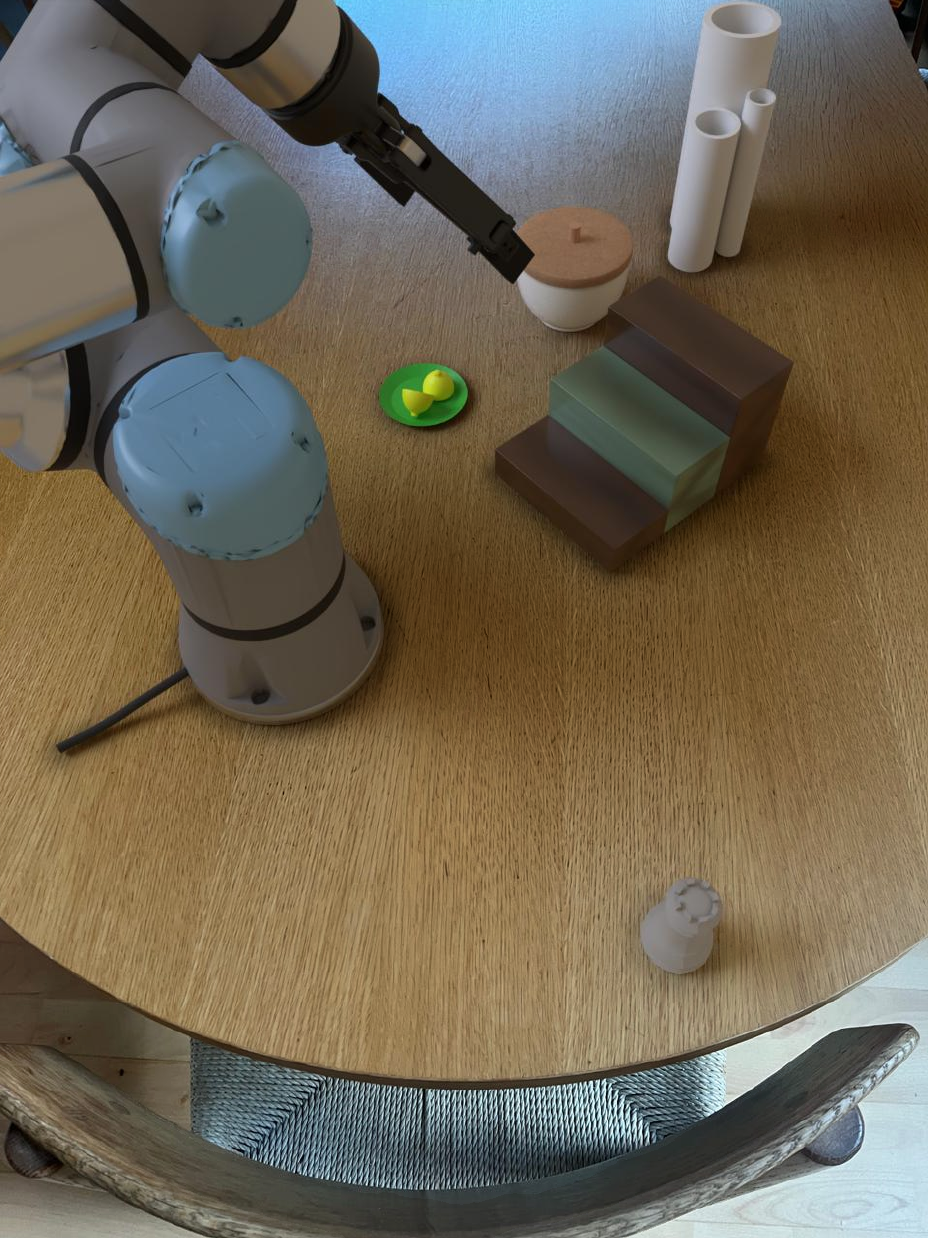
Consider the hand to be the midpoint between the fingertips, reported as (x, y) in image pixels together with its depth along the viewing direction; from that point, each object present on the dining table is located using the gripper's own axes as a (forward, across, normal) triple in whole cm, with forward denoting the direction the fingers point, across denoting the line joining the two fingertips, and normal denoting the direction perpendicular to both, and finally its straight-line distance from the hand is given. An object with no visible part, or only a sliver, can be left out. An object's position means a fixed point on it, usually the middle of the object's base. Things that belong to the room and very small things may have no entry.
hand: (464, 227), depth 78 cm
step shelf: (+15, -17, +6) cm, 24 cm away
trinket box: (+20, +1, -2) cm, 20 cm away
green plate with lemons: (+10, +1, +13) cm, 16 cm away
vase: (+31, 0, -16) cm, 35 cm away
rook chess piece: (0, -48, +28) cm, 55 cm away
